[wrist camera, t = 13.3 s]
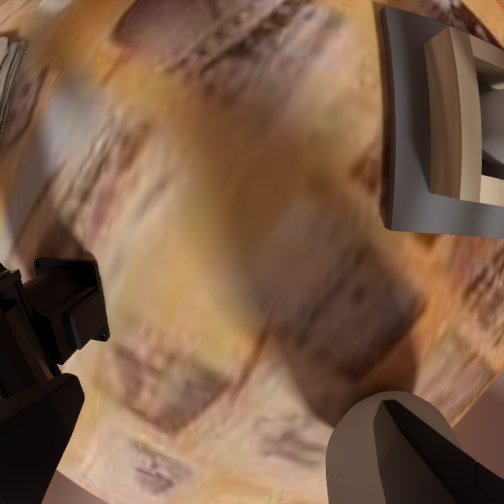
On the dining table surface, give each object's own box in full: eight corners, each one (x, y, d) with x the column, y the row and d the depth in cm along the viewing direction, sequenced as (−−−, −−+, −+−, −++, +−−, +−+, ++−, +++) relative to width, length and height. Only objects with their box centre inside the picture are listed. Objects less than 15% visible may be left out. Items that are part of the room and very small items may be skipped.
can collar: (385, 227, 18) (416, 245, 13) (380, 11, 14) (403, -20, 9) (529, 238, 17) (563, 253, 12) (527, 70, 13) (559, 62, 8)
